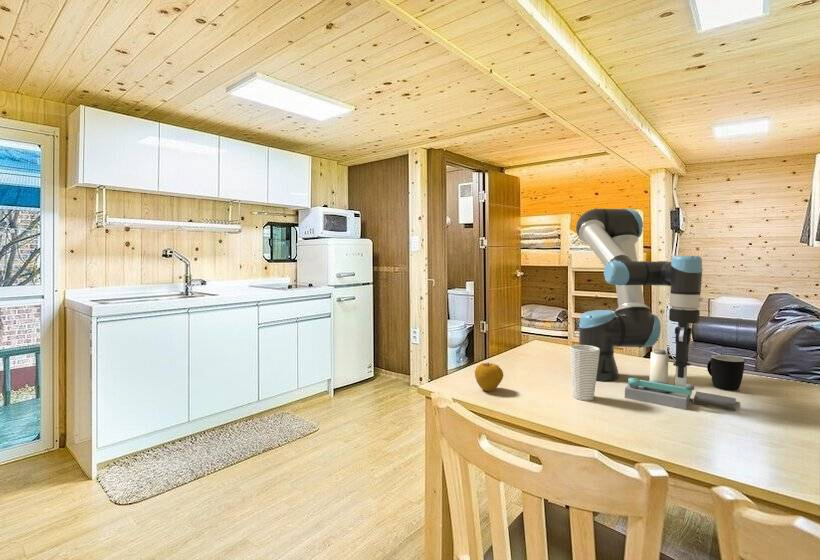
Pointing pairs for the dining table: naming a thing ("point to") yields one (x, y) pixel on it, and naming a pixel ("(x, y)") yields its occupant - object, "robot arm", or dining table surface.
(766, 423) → the dining table surface
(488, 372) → the apple
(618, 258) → the robot arm
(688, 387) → the clip
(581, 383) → the cup
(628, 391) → the socket block
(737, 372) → the mug
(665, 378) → the plug
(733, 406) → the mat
